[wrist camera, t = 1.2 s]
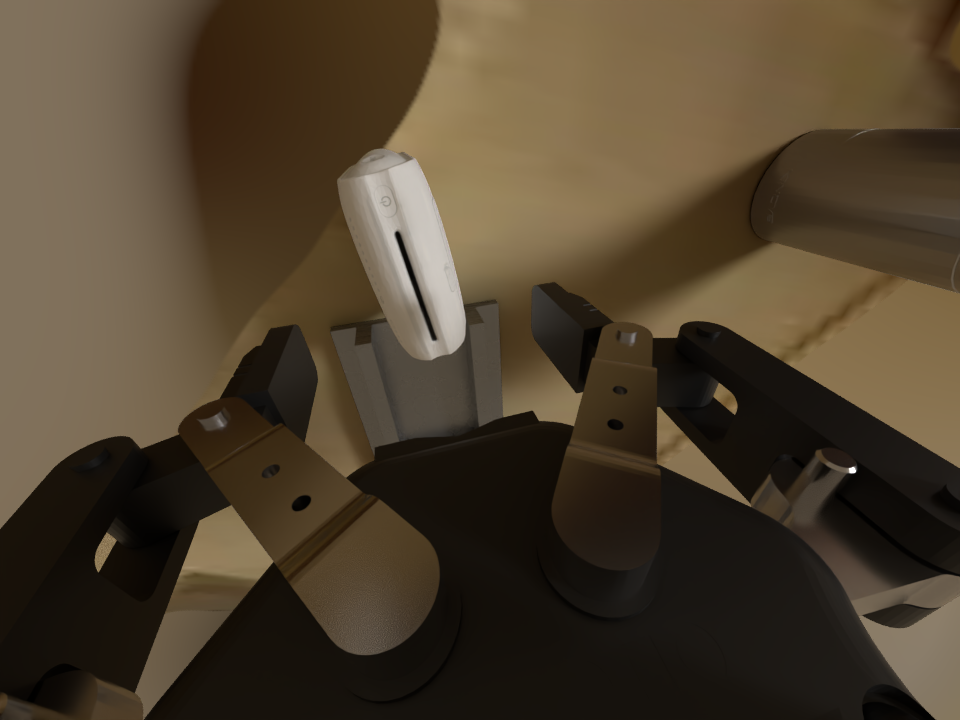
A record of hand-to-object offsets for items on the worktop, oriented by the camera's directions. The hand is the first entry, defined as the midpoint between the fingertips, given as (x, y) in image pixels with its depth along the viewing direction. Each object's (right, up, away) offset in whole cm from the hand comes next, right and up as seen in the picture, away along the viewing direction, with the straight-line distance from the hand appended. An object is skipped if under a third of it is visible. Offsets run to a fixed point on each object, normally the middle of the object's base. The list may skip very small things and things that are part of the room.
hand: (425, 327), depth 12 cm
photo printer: (-4, +9, +14) cm, 17 cm away
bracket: (-3, -5, +22) cm, 23 cm away
